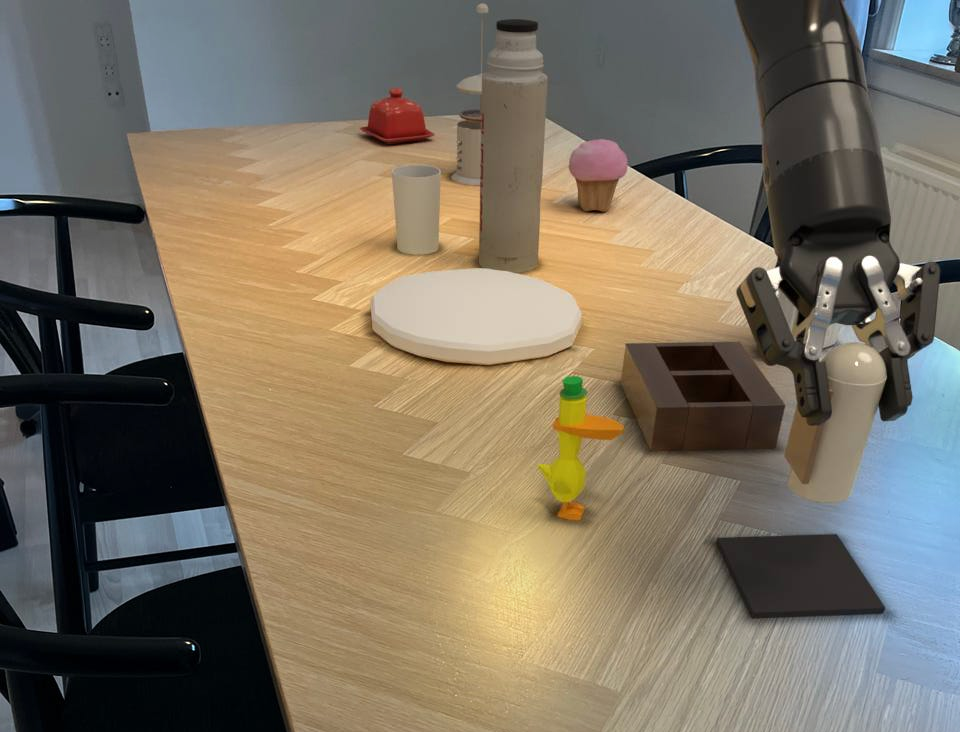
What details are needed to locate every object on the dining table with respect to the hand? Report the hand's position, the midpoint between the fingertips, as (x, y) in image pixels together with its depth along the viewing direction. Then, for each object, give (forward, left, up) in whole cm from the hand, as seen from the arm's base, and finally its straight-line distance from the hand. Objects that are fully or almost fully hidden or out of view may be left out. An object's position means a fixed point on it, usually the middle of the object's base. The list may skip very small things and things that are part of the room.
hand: (857, 418), depth 65 cm
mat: (0, -2, -15) cm, 15 cm away
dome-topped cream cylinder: (0, -2, -7) cm, 7 cm away
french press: (+15, -121, -15) cm, 123 cm away
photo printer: (-15, -46, -15) cm, 51 cm away
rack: (+1, -30, -15) cm, 34 cm away
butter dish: (+29, -149, -15) cm, 153 cm away
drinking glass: (+27, -83, -15) cm, 89 cm away
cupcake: (-1, -101, -15) cm, 102 cm away
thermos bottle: (+15, -76, -15) cm, 79 cm away
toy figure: (+16, -12, -15) cm, 25 cm away
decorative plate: (+21, -55, -15) cm, 61 cm away
